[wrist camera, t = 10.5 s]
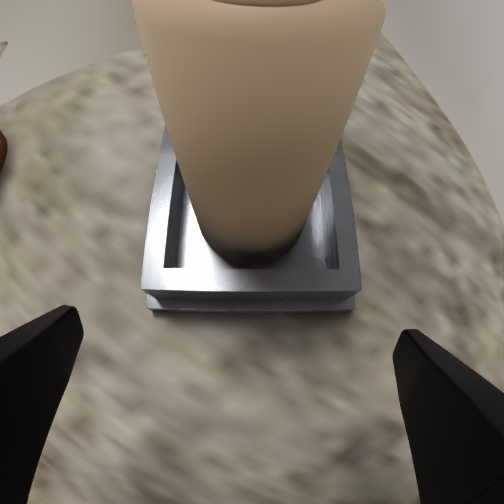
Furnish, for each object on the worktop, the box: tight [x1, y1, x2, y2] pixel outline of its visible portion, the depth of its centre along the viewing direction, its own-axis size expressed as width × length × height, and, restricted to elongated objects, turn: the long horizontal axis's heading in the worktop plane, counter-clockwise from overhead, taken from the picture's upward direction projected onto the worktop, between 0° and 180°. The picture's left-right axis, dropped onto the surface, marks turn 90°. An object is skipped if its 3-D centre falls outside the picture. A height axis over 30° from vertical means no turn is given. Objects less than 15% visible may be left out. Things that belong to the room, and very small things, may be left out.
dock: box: [141, 125, 362, 314], centre depth 17 cm, size 11×11×4 cm
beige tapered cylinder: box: [133, 0, 386, 264], centre depth 11 cm, size 6×6×13 cm
